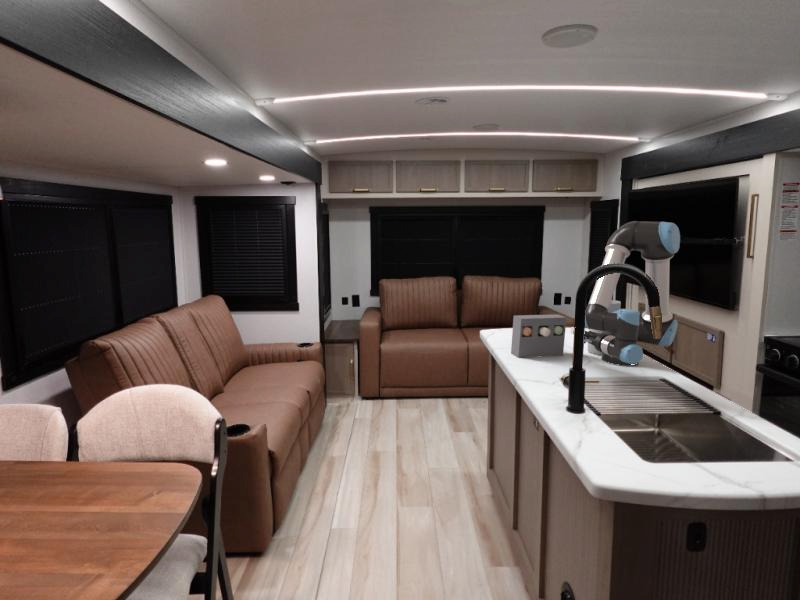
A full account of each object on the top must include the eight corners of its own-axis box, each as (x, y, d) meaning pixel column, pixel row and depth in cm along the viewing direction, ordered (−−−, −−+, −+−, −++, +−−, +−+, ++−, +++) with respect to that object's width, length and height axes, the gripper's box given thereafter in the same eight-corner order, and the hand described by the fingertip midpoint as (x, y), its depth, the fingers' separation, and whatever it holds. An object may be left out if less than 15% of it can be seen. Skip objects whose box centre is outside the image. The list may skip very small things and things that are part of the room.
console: (554, 351, 235) (557, 314, 232) (563, 355, 229) (566, 317, 226) (511, 353, 229) (513, 315, 226) (518, 357, 222) (521, 318, 219)
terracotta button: (526, 333, 226) (527, 325, 225) (531, 335, 222) (531, 327, 221) (519, 333, 225) (519, 325, 224) (523, 336, 221) (524, 327, 220)
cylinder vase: (612, 357, 227) (618, 304, 222) (584, 353, 234) (589, 301, 229) (617, 352, 237) (623, 301, 233) (590, 347, 244) (595, 298, 240)
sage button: (557, 332, 230) (558, 324, 229) (562, 334, 226) (562, 326, 225) (550, 332, 229) (550, 324, 228) (555, 334, 225) (555, 326, 224)
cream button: (545, 334, 225) (545, 326, 225) (550, 336, 221) (550, 328, 221) (537, 334, 224) (538, 326, 224) (542, 336, 220) (543, 328, 220)
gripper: (592, 354, 192) (558, 339, 215) (621, 352, 196) (584, 337, 218) (594, 336, 191) (559, 322, 213) (622, 334, 194) (586, 321, 217)
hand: (572, 330), depth 216 cm, fingers closed
